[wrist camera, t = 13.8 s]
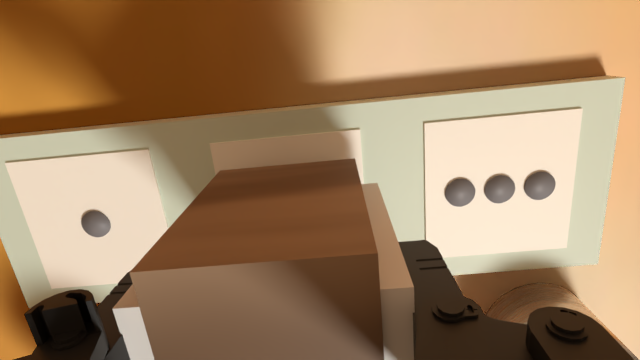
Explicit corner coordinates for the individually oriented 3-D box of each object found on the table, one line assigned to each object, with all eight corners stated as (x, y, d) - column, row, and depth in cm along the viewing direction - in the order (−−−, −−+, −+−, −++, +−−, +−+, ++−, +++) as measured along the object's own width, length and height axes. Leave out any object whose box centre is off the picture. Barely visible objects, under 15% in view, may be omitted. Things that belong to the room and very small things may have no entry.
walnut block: (220, 170, 15) (129, 272, 8) (354, 158, 14) (377, 253, 8) (241, 286, 16) (181, 453, 10) (363, 277, 16) (389, 441, 9)
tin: (480, 368, 21) (515, 441, 17) (483, 286, 19) (522, 347, 15) (578, 361, 20) (635, 433, 17) (589, 278, 19) (656, 337, 15)
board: (43, 295, 19) (25, 310, 18) (-18, 136, 17) (-43, 143, 16) (584, 252, 18) (600, 266, 17) (607, 75, 16) (629, 77, 15)
